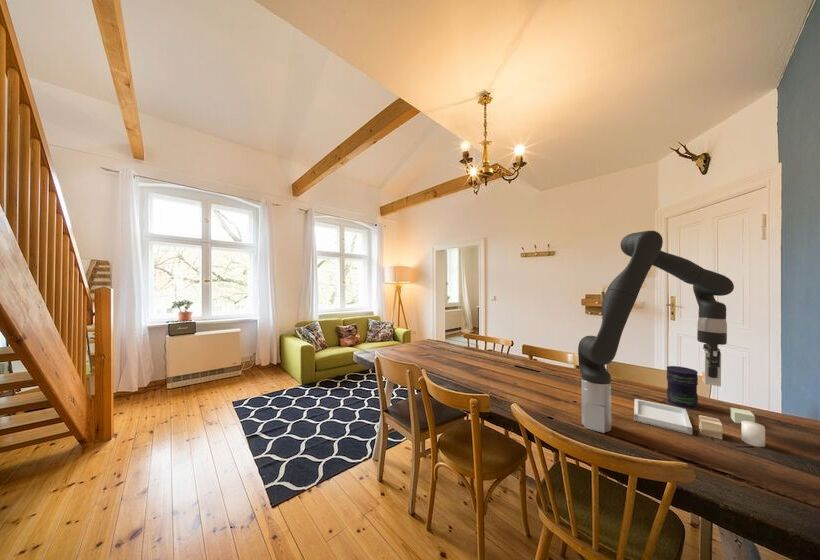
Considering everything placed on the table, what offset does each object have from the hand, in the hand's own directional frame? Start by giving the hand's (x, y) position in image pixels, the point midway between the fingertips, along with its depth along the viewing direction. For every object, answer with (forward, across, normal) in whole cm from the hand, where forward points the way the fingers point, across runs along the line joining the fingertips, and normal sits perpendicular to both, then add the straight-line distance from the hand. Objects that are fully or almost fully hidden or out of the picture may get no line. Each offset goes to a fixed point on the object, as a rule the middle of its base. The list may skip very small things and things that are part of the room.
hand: (711, 374), depth 105 cm
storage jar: (+19, +18, +6) cm, 27 cm away
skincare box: (+3, 0, 0) cm, 3 cm away
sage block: (+19, +11, -10) cm, 24 cm away
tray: (+19, -4, +14) cm, 24 cm away
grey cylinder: (+19, -7, -9) cm, 22 cm away
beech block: (+19, -8, +1) cm, 21 cm away
